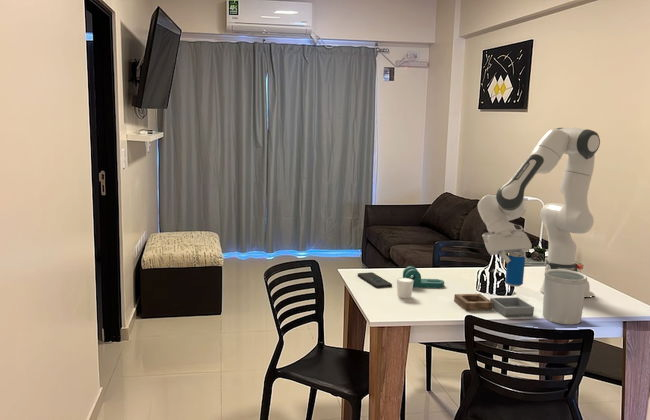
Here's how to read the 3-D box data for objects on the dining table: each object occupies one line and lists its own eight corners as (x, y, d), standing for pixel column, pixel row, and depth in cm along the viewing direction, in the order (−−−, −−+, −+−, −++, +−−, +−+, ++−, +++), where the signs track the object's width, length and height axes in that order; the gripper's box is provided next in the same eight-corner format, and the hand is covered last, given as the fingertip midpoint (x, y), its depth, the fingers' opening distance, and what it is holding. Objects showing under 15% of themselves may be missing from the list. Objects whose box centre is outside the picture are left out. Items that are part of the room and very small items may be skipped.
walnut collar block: (479, 300, 236) (480, 293, 236) (492, 309, 225) (493, 302, 225) (454, 301, 234) (454, 294, 233) (465, 310, 223) (466, 303, 223)
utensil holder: (551, 325, 211) (556, 279, 208) (533, 311, 225) (538, 268, 222) (589, 325, 212) (595, 279, 209) (569, 312, 227) (574, 269, 224)
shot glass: (415, 295, 239) (416, 279, 238) (408, 299, 234) (409, 283, 233) (400, 292, 243) (401, 276, 242) (393, 296, 237) (394, 279, 236)
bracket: (405, 287, 251) (406, 270, 250) (402, 283, 258) (403, 266, 257) (445, 288, 252) (447, 271, 251) (441, 284, 259) (443, 267, 258)
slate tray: (517, 305, 232) (517, 297, 231) (533, 315, 220) (534, 307, 220) (489, 306, 229) (490, 297, 229) (504, 316, 218) (505, 308, 217)
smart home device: (376, 285, 247) (356, 273, 266) (375, 289, 248) (356, 276, 266) (393, 284, 251) (372, 271, 269) (392, 287, 251) (372, 275, 269)
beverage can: (523, 287, 219) (526, 257, 217) (506, 286, 221) (508, 255, 219) (521, 283, 226) (524, 253, 224) (504, 281, 227) (506, 252, 225)
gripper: (485, 228, 221) (501, 259, 214) (524, 225, 230) (541, 255, 223) (476, 237, 226) (491, 268, 219) (515, 234, 235) (531, 263, 228)
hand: (517, 261), depth 221 cm, fingers closed on beverage can, 6 cm apart
